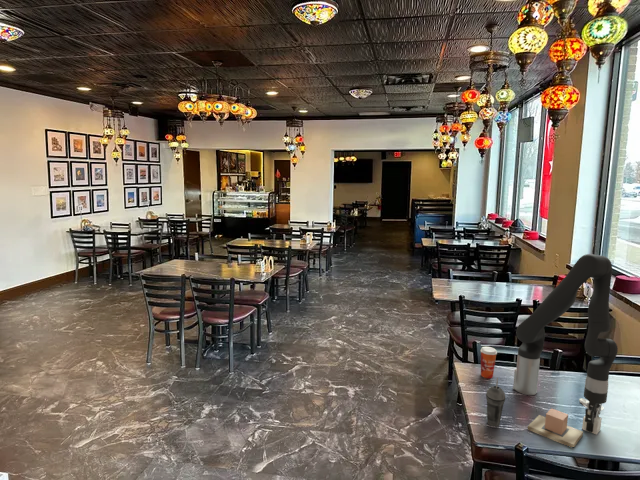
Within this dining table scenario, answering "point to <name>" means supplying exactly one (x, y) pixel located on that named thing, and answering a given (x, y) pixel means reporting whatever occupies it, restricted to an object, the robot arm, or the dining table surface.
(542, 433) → the beige rectangular frame
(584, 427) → the white cube
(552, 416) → the terracotta cube
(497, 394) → the beverage cup
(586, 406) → the teacup and saucer
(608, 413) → the dining table surface
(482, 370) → the paper cup
